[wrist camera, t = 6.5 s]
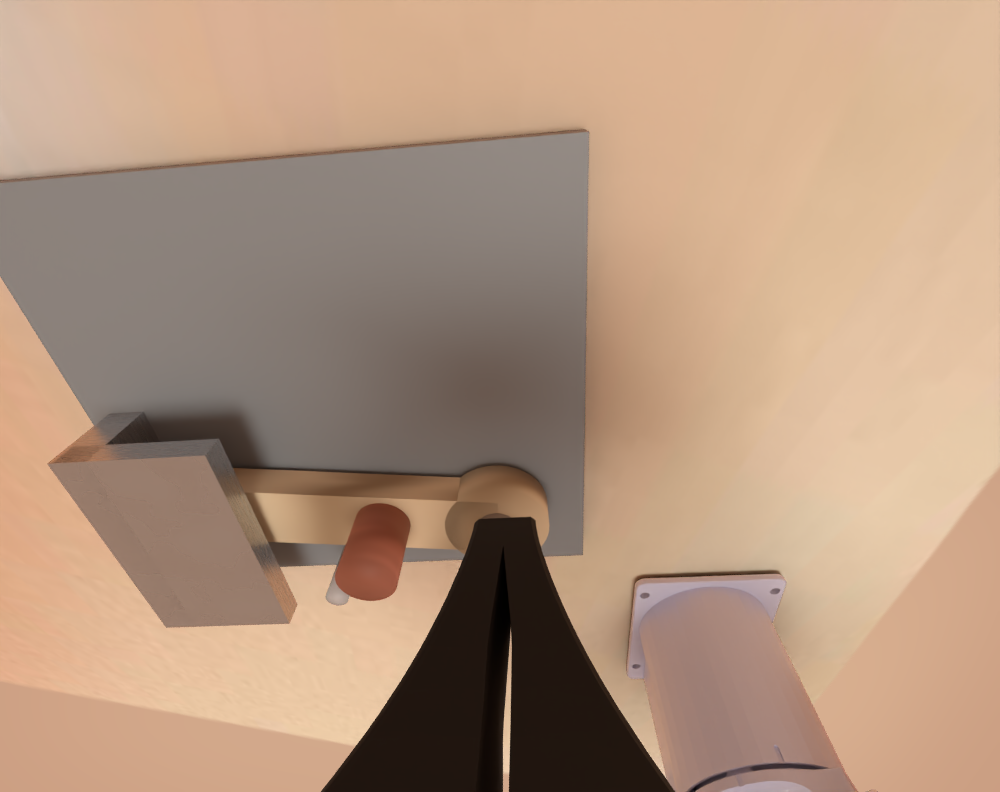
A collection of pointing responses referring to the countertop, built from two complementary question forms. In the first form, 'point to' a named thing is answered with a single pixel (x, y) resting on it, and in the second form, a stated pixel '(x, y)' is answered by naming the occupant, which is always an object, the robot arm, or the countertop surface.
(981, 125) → the countertop surface
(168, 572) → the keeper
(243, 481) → the latch
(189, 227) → the board
